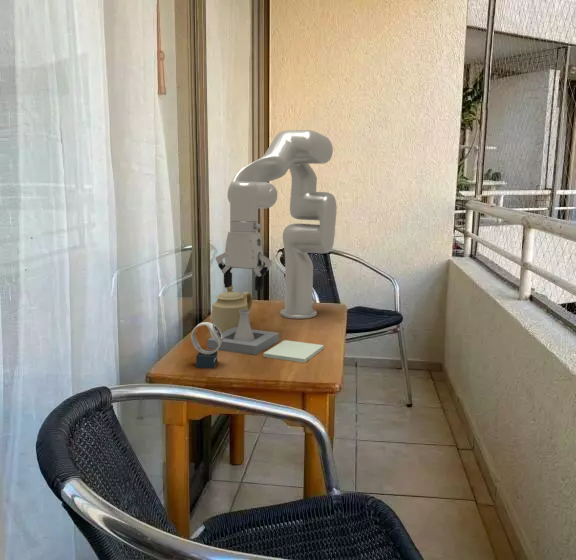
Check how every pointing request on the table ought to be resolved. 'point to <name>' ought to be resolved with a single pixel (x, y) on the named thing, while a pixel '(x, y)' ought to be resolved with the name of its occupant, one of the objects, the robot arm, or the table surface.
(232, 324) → the sugar bowl
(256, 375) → the table surface
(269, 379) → the table surface
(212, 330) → the watch
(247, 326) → the flask
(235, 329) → the frame
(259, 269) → the robot arm
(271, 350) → the sage mat
